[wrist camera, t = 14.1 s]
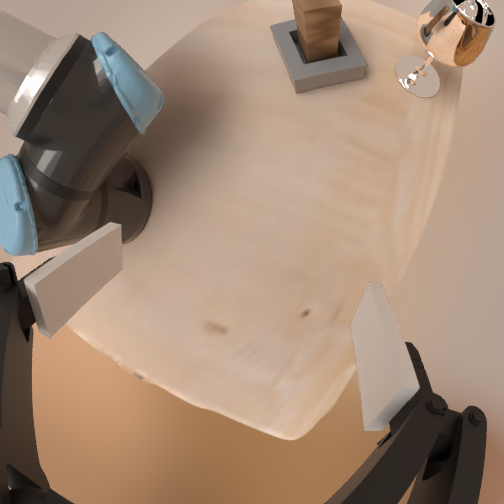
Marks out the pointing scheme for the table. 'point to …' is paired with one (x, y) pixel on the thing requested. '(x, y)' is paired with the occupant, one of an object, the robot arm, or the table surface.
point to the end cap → (320, 72)
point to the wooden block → (318, 28)
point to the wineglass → (445, 42)
